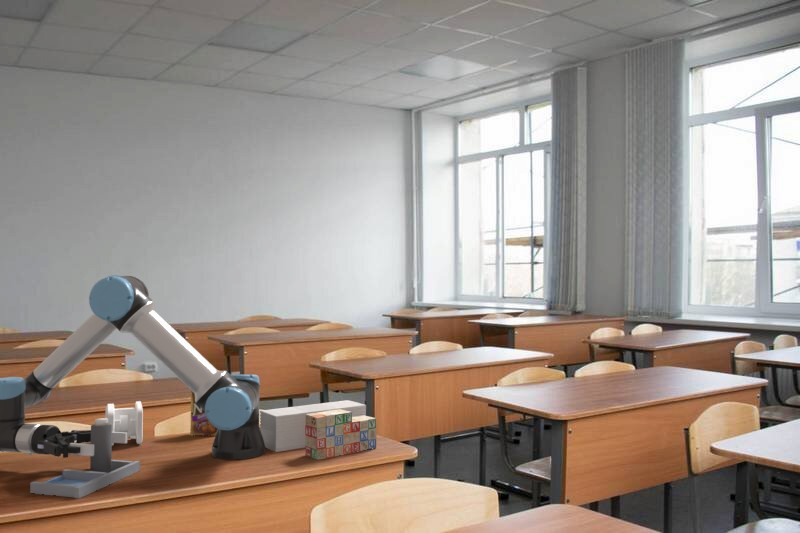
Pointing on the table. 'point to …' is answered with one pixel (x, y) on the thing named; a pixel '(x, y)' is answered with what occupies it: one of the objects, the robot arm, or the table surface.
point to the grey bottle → (101, 445)
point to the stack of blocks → (338, 433)
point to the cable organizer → (126, 420)
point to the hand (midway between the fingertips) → (110, 444)
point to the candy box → (200, 420)
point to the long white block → (297, 423)
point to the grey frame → (84, 480)
